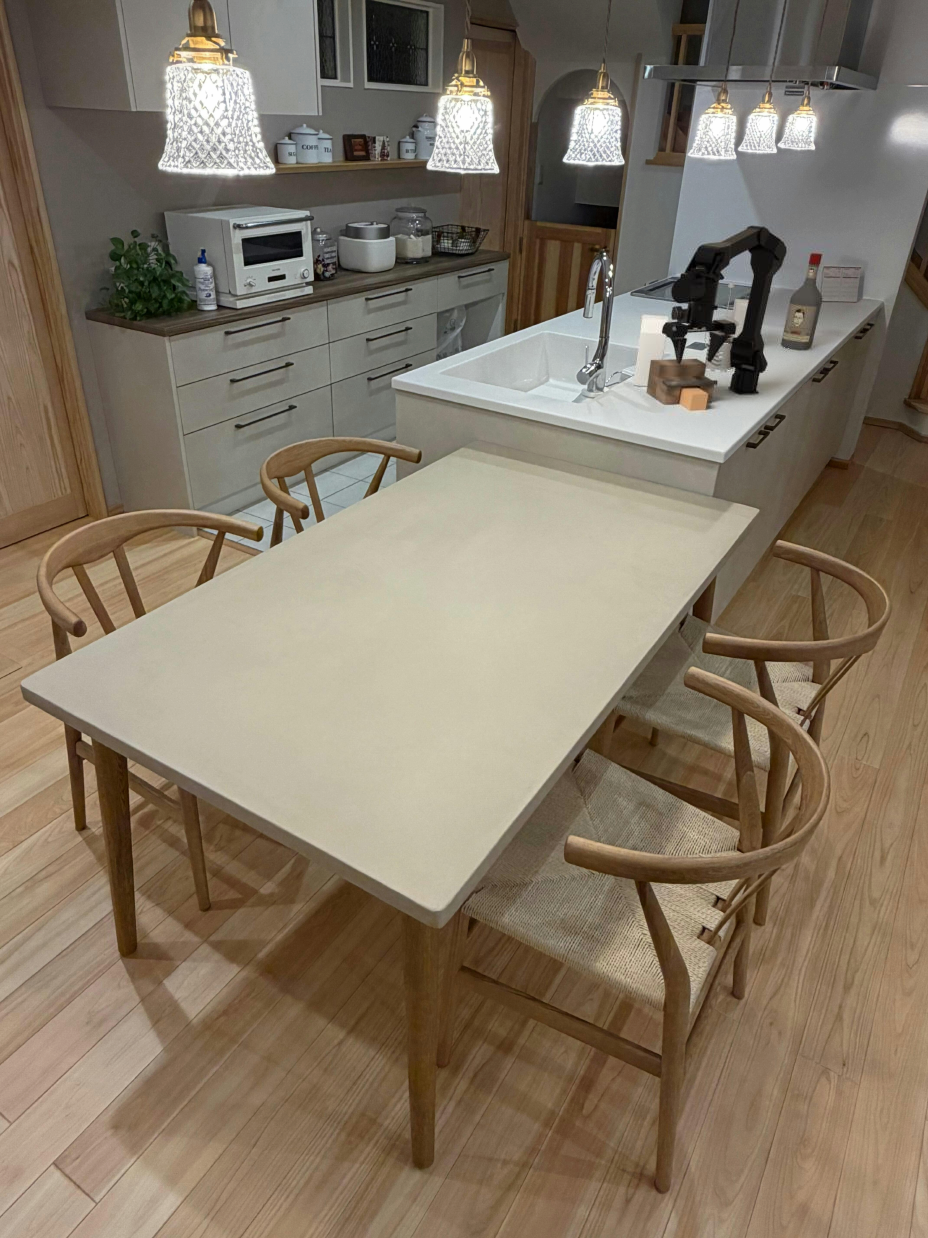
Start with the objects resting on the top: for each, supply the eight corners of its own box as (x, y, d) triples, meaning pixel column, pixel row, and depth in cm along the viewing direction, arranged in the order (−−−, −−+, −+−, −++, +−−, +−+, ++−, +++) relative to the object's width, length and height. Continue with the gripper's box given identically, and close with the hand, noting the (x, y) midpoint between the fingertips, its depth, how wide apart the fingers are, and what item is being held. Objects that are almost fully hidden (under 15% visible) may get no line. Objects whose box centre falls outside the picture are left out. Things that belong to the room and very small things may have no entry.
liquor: (786, 342, 298) (806, 251, 283) (812, 346, 294) (834, 253, 279) (778, 347, 292) (798, 253, 277) (805, 351, 288) (826, 256, 272)
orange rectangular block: (688, 400, 232) (691, 383, 229) (705, 410, 223) (708, 393, 221) (673, 400, 231) (676, 384, 228) (689, 411, 222) (692, 394, 220)
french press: (715, 373, 258) (731, 286, 245) (690, 364, 267) (704, 280, 254) (739, 370, 262) (756, 284, 249) (714, 361, 271) (728, 278, 258)
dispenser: (692, 390, 239) (698, 358, 235) (713, 403, 228) (719, 370, 224) (644, 392, 236) (649, 359, 232) (664, 405, 225) (669, 371, 221)
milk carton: (658, 387, 241) (668, 318, 232) (633, 385, 242) (642, 316, 233) (658, 381, 247) (668, 313, 238) (634, 379, 248) (642, 312, 239)
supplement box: (755, 350, 286) (764, 304, 279) (728, 348, 287) (736, 302, 280) (752, 345, 294) (761, 299, 286) (726, 343, 295) (734, 298, 288)
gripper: (717, 292, 221) (707, 353, 229) (655, 295, 216) (646, 357, 224) (742, 300, 212) (731, 363, 220) (678, 302, 207) (668, 367, 215)
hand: (693, 362), depth 220 cm, fingers open, 9 cm apart
